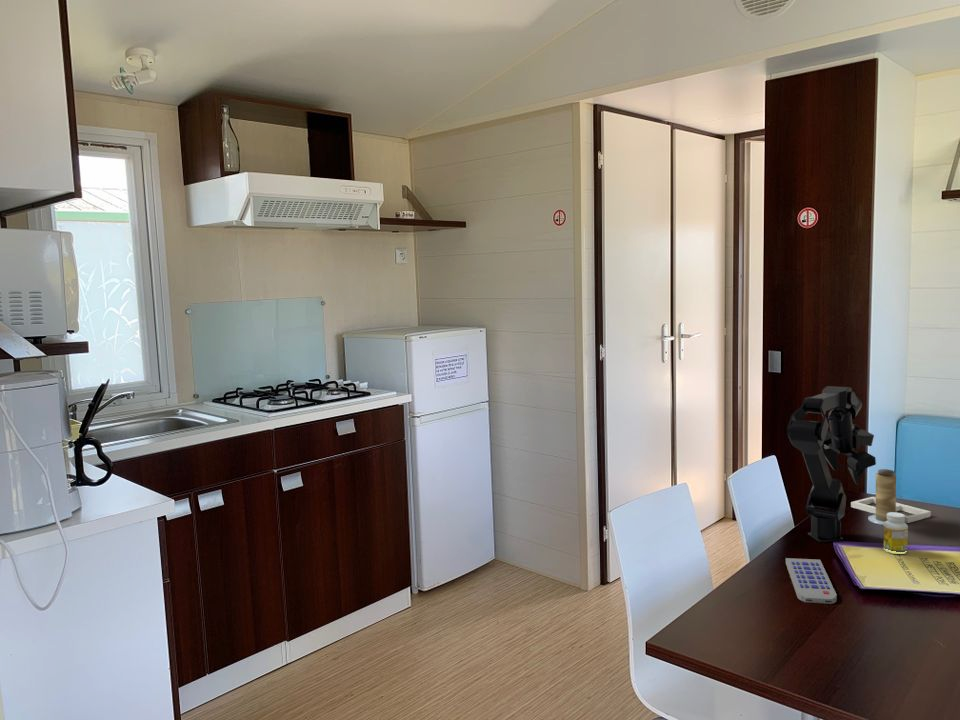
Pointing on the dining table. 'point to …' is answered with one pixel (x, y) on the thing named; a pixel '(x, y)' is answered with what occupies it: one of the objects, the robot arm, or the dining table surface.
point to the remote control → (811, 581)
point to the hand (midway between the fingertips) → (846, 476)
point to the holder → (916, 512)
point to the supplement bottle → (895, 532)
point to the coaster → (873, 520)
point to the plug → (885, 493)
